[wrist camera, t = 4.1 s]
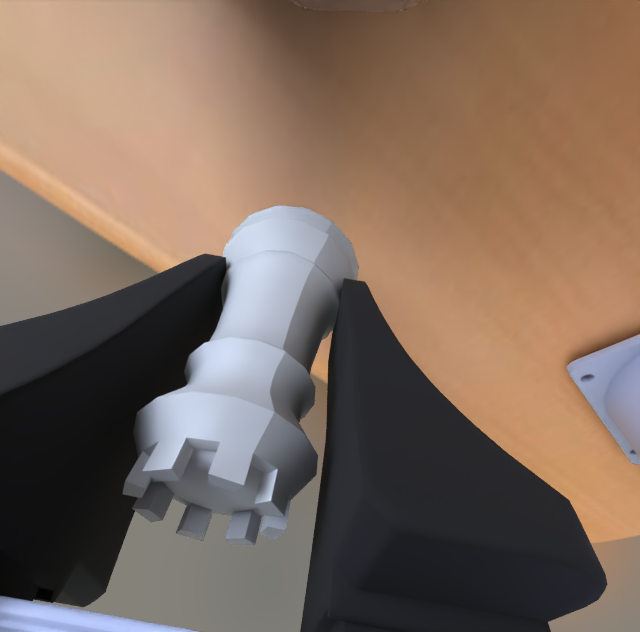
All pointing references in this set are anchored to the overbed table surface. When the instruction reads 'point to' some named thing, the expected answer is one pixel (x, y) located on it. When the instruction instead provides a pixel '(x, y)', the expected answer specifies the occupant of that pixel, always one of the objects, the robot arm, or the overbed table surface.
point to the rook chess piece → (247, 384)
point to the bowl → (358, 5)
